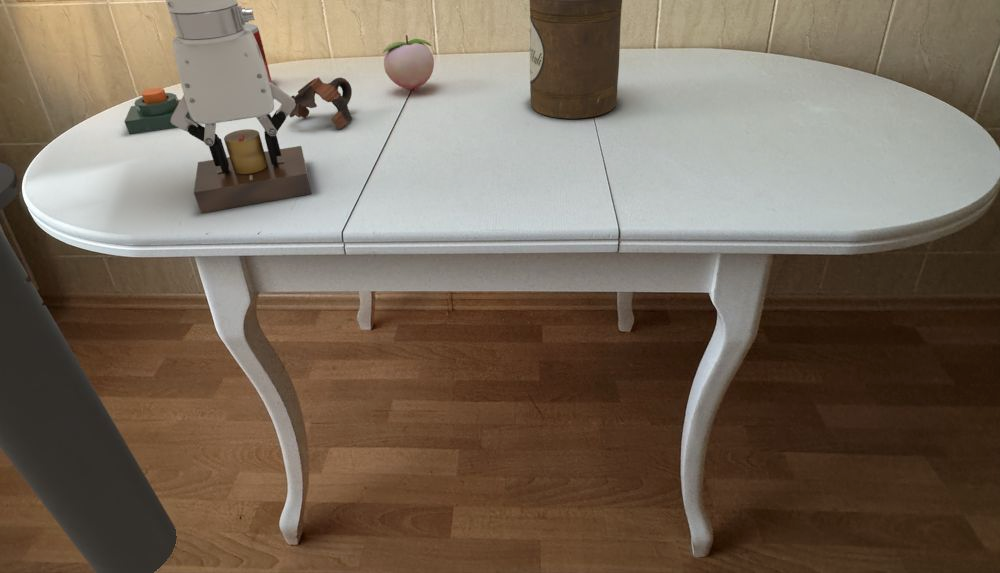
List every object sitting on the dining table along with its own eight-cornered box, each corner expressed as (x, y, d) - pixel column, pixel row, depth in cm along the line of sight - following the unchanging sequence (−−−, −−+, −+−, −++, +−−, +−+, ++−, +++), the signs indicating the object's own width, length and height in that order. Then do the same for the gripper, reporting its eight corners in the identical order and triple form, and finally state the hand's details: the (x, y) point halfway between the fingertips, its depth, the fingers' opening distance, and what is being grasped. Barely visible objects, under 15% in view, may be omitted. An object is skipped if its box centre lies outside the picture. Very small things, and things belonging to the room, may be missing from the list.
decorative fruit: (404, 102, 112) (397, 45, 106) (381, 92, 117) (372, 36, 111) (446, 90, 116) (442, 34, 111) (422, 80, 122) (417, 26, 116)
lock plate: (201, 213, 80) (193, 191, 78) (204, 181, 88) (197, 160, 86) (311, 193, 83) (306, 172, 82) (305, 164, 91) (300, 144, 89)
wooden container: (544, 87, 116) (544, -45, 103) (623, 93, 111) (634, -44, 98) (518, 115, 104) (515, -30, 92) (605, 123, 100) (615, -28, 87)
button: (143, 106, 104) (139, 95, 103) (146, 99, 107) (142, 89, 106) (166, 103, 105) (163, 92, 104) (168, 96, 108) (165, 86, 107)
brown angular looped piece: (332, 139, 100) (296, 96, 96) (304, 152, 107) (270, 112, 103) (375, 98, 106) (343, 56, 102) (346, 113, 113) (315, 74, 109)
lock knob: (234, 163, 85) (224, 129, 82) (267, 158, 86) (258, 125, 83) (233, 176, 82) (222, 141, 79) (267, 171, 83) (258, 136, 80)
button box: (129, 134, 104) (119, 110, 102) (135, 118, 110) (126, 96, 108) (192, 124, 106) (185, 102, 104) (195, 110, 113) (188, 88, 110)
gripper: (282, 9, 78) (313, 145, 89) (133, 25, 74) (184, 165, 85) (285, 22, 72) (318, 165, 83) (124, 40, 68) (180, 188, 79)
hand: (250, 164), depth 84 cm, fingers open, 5 cm apart
